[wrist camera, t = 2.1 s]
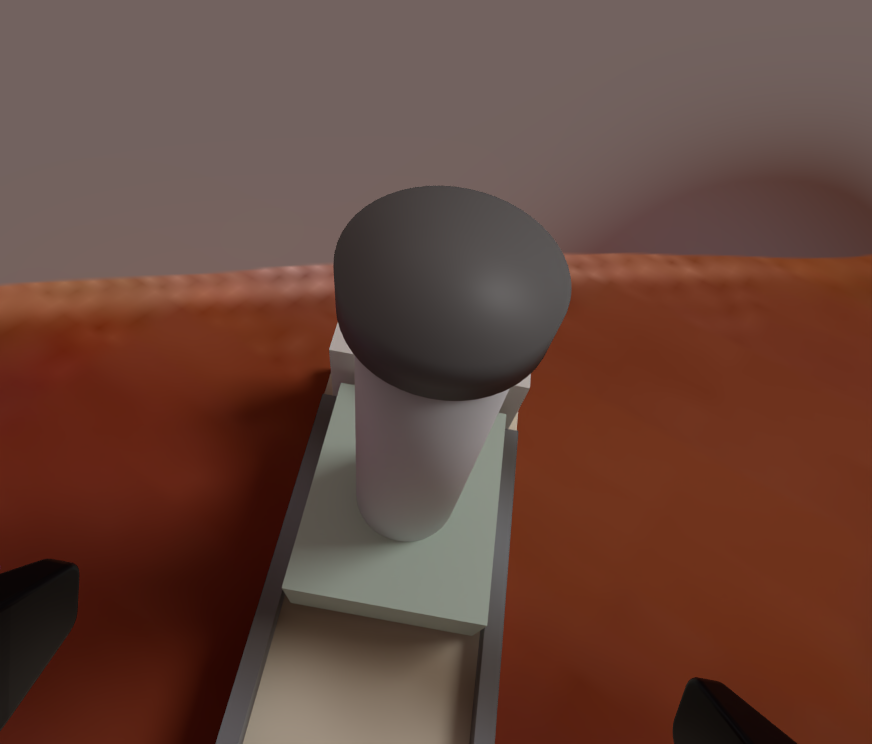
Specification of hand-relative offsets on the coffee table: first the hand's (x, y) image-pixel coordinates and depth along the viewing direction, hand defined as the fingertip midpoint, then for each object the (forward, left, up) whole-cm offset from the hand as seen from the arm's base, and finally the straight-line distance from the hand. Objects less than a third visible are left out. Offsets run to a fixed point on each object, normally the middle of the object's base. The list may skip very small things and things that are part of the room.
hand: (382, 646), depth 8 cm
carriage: (+5, +3, -11) cm, 12 cm away
